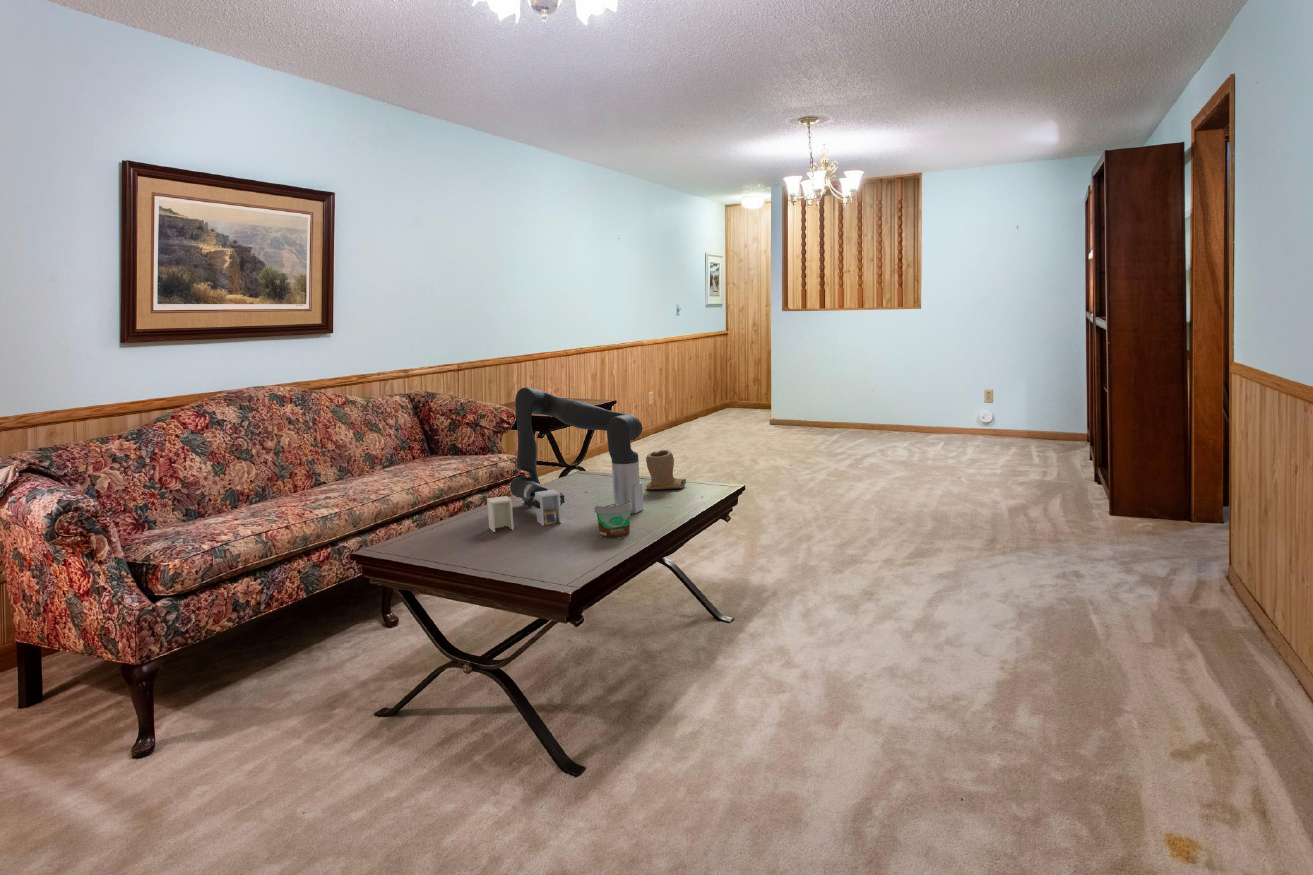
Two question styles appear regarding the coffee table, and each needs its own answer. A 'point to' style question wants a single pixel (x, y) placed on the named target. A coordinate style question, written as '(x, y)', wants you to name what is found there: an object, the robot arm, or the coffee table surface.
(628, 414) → the robot arm
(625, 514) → the food container
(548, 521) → the letter cube
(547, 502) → the cover
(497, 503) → the cover
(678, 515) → the coffee table surface
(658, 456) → the brown boot-shaped piece
